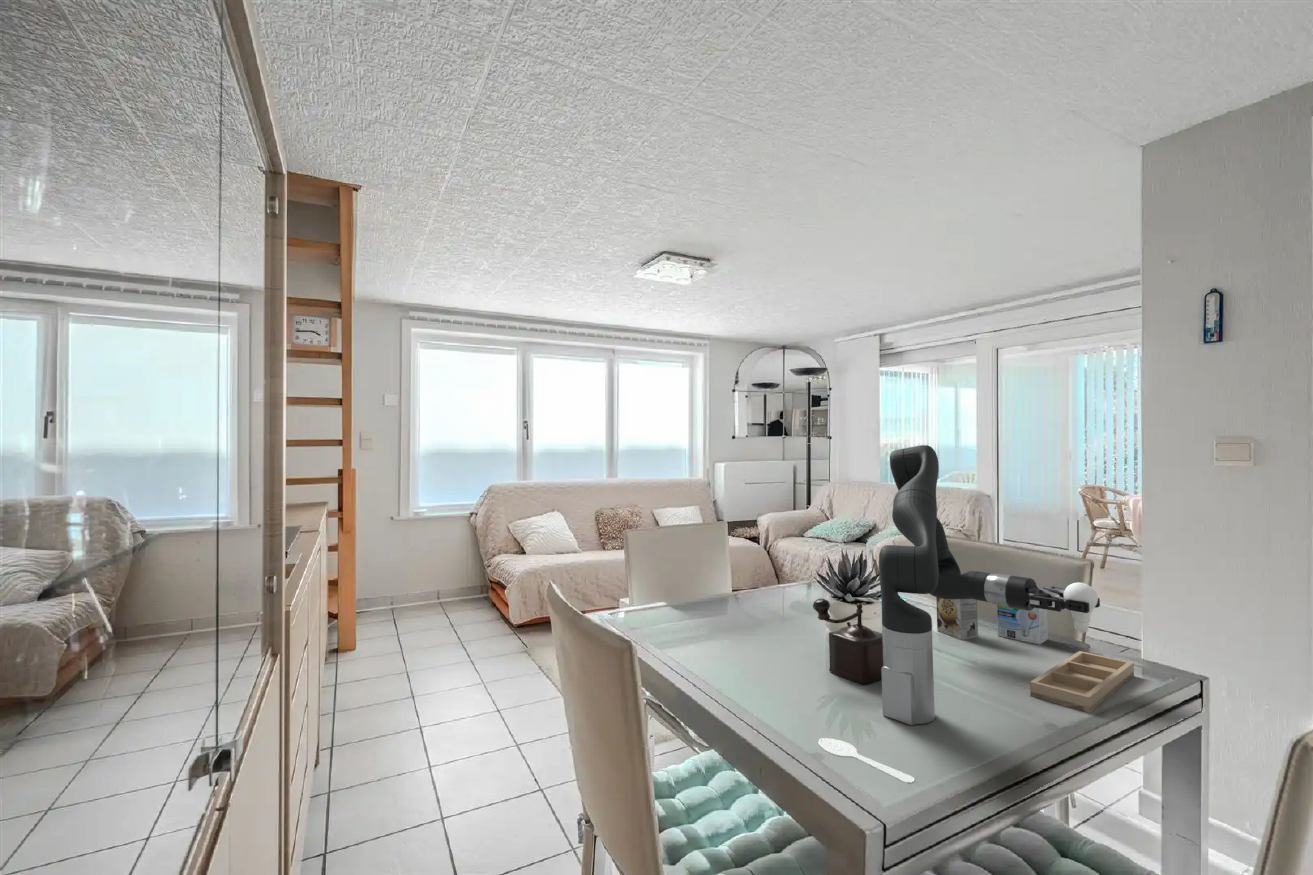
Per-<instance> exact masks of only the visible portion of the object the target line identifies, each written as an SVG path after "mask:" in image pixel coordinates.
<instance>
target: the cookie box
mask: <svg viewBox="0 0 1313 875" xmlns="http://www.w3.org/2000/svg"><path fill="white" fill-rule="evenodd" d="M935 598H936V625H937V626H936V629H937V632H940V633H942V634H944V635H948V636H950V637H953V638H955V639H958V640H961V641H962V640H970V639H977V638H979V623H978V622H979V620H978V619H979V618H978V616H979V615H978V609H979V608H978V600H975V599H941V598H937V597H935Z"/></svg>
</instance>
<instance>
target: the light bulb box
mask: <svg viewBox="0 0 1313 875" xmlns="http://www.w3.org/2000/svg"><path fill="white" fill-rule="evenodd" d="M996 610H997V611H996V612H997V613H996V614H997V615H996V617H997V618H996V620H997V624H996V625H997V636H998V637H1003V638H1007V639H1011V640H1015V641H1021V642H1025V643H1031V644H1035V645H1042V644H1043V643H1045V642H1047V641H1048V640H1049V636H1048V635H1049V634H1048V610H1046V609H1039V608H1034V609H1033V610H1031V611H1027V610H1022V609H1016V608H1011V607H1006V606H1000V605H997V604H996Z"/></svg>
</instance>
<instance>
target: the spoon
mask: <svg viewBox="0 0 1313 875" xmlns="http://www.w3.org/2000/svg"><path fill="white" fill-rule="evenodd" d="M821 740H822V741H821ZM817 744H818V746H819V745H820V746H819V747H820V748H821V747H822V748H821V749H822V750H823V749H824V750H823V751H825V752H826V751H827V752H826V753H828V754H830V753H831V754H830V755H833V756H836V757H841V758H842V757H843V758H854V759H856V760H859V761H860V762H863V763H864V764H866V765H868V766H870V767H872V768H875V769H876V770H879V771H880V772H882V773H884V774H886V775H888V776H891V777H892V778H894V779H896V780H899V781H900V782H903V783H906V784H911V783H914V782H915V778H914V776H912V775H910V774H907V773H905V772H902V771H901V770H898V769H896V768H893V767H891V766H888V765H887V764H883V763H880V762H879V761H877V760H873V759H872V758H869V757H866V756H864V755H861V754H860V753H858V749H857V748H856V747H855V746H854V745H853V744H851V743H850V742H847V741H843V740H840V739H838V738H831V737H821V738H819V739H818V740H817Z"/></svg>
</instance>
